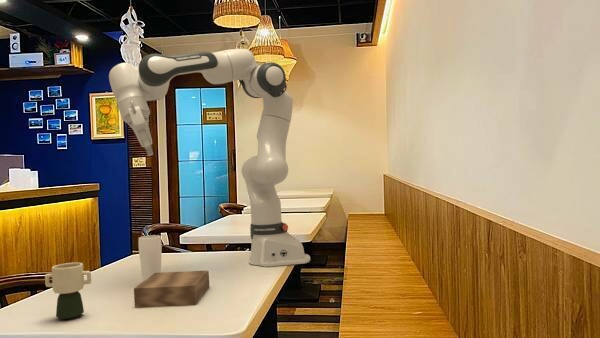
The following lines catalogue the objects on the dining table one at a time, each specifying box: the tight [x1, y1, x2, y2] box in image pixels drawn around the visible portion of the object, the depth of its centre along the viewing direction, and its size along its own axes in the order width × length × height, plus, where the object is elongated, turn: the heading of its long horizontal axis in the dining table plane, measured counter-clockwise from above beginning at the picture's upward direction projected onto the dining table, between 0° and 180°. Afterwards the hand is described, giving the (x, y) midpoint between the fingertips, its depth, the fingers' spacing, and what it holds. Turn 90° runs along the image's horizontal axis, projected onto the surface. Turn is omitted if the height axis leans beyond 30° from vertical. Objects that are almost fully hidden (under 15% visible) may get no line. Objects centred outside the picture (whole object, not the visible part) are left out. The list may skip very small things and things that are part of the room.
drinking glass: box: [137, 234, 163, 282], centre depth 151 cm, size 7×7×15 cm
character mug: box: [44, 262, 92, 320], centre depth 122 cm, size 11×7×13 cm, turn 97°
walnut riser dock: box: [133, 269, 210, 308], centre depth 136 cm, size 16×18×5 cm
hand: (149, 150), depth 154 cm, fingers open, 8 cm apart
